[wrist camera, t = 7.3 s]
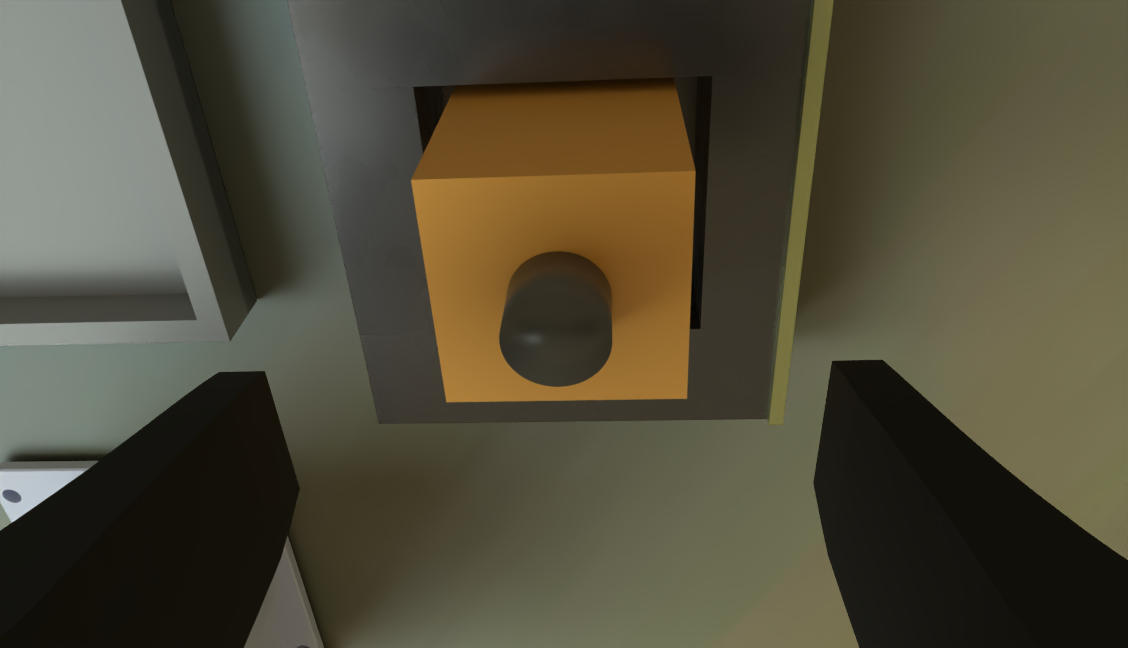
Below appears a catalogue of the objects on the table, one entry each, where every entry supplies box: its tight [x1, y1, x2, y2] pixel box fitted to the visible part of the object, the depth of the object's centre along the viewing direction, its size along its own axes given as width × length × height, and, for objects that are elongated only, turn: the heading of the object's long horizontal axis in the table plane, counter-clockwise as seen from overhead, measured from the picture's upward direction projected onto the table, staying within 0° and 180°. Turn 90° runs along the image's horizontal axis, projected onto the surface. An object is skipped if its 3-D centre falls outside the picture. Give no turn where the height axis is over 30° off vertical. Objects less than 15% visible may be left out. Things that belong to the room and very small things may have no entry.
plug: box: [411, 77, 696, 402], centre depth 15 cm, size 4×4×7 cm
